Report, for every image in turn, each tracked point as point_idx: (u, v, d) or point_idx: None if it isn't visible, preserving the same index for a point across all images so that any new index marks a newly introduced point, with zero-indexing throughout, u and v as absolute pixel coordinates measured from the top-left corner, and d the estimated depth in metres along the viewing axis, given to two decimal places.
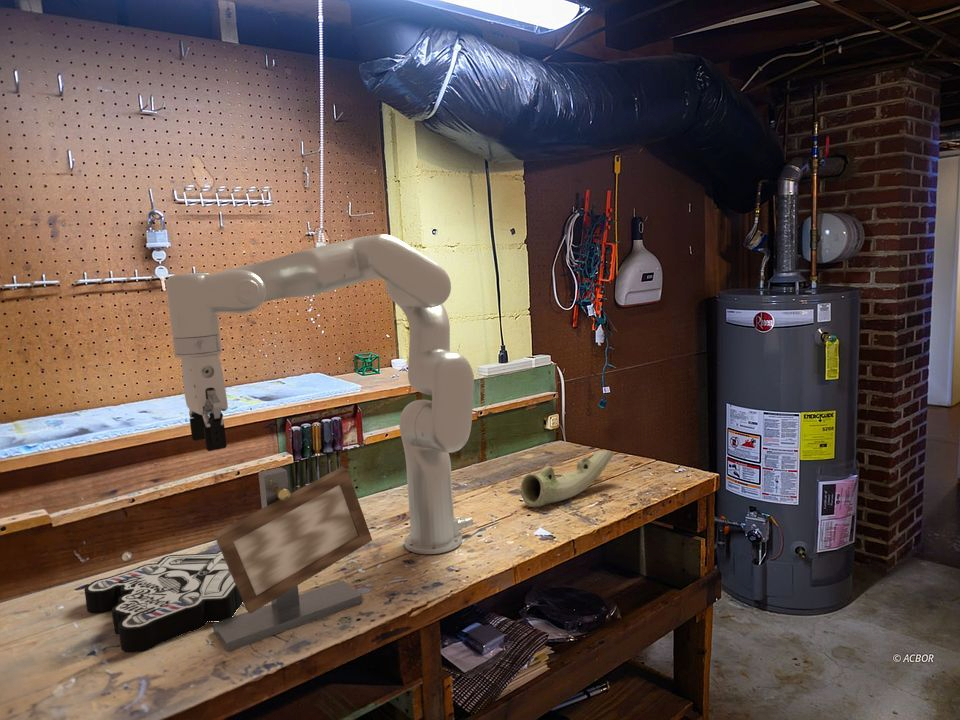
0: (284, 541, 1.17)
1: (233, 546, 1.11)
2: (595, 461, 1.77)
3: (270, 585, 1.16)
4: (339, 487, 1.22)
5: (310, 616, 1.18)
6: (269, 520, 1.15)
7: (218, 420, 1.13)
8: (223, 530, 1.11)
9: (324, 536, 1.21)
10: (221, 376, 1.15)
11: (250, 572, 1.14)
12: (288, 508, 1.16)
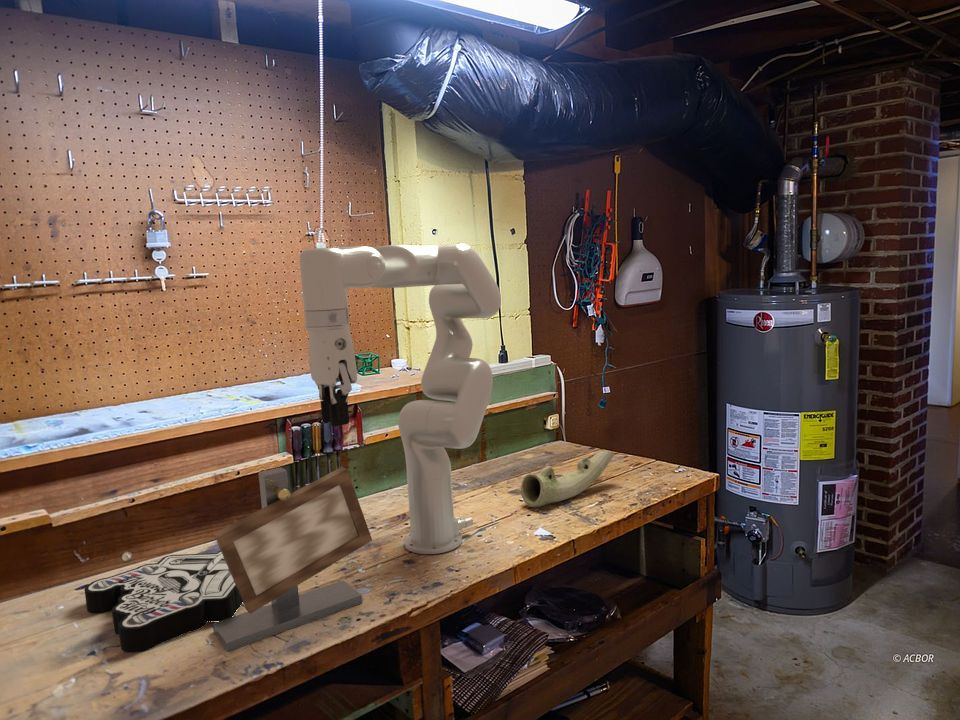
0: (284, 541, 1.17)
1: (233, 546, 1.11)
2: (596, 461, 1.76)
3: (270, 585, 1.16)
4: (339, 487, 1.22)
5: (310, 616, 1.18)
6: (269, 520, 1.15)
7: (344, 397, 1.18)
8: (223, 530, 1.11)
9: (324, 536, 1.21)
10: (352, 349, 1.17)
11: (250, 572, 1.14)
12: (288, 508, 1.16)
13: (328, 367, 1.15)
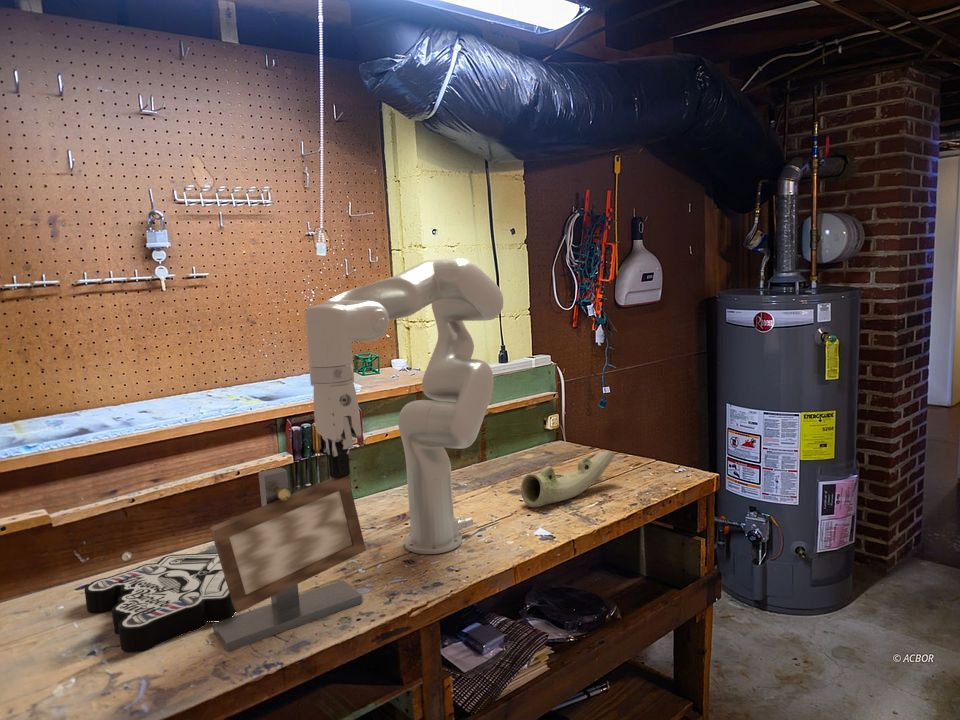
0: (279, 542, 1.17)
1: (228, 541, 1.11)
2: (596, 461, 1.76)
3: (260, 586, 1.15)
4: (338, 493, 1.22)
5: (310, 616, 1.18)
6: (266, 519, 1.14)
7: (345, 450, 1.20)
8: (220, 524, 1.11)
9: (318, 541, 1.21)
10: (357, 404, 1.18)
11: (242, 570, 1.13)
12: (286, 509, 1.16)
13: (333, 423, 1.17)
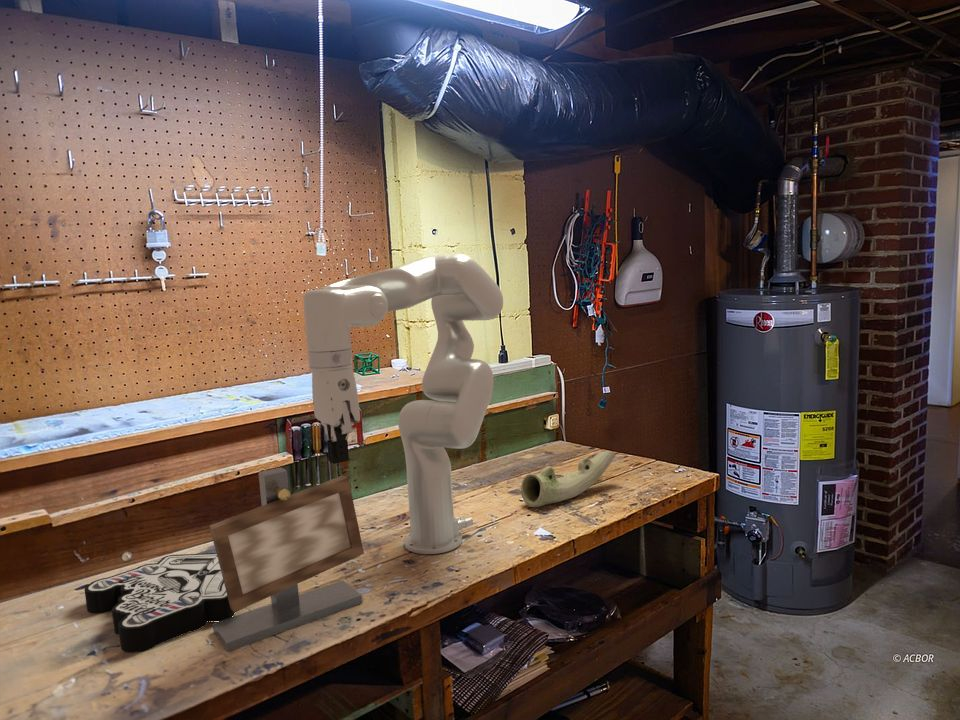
0: (277, 542, 1.16)
1: (227, 540, 1.11)
2: (597, 462, 1.76)
3: (258, 586, 1.15)
4: (338, 495, 1.22)
5: (310, 616, 1.18)
6: (266, 519, 1.14)
7: (344, 435, 1.20)
8: (219, 523, 1.11)
9: (317, 543, 1.21)
10: (355, 389, 1.18)
11: (240, 569, 1.13)
12: (286, 509, 1.16)
13: (331, 408, 1.16)
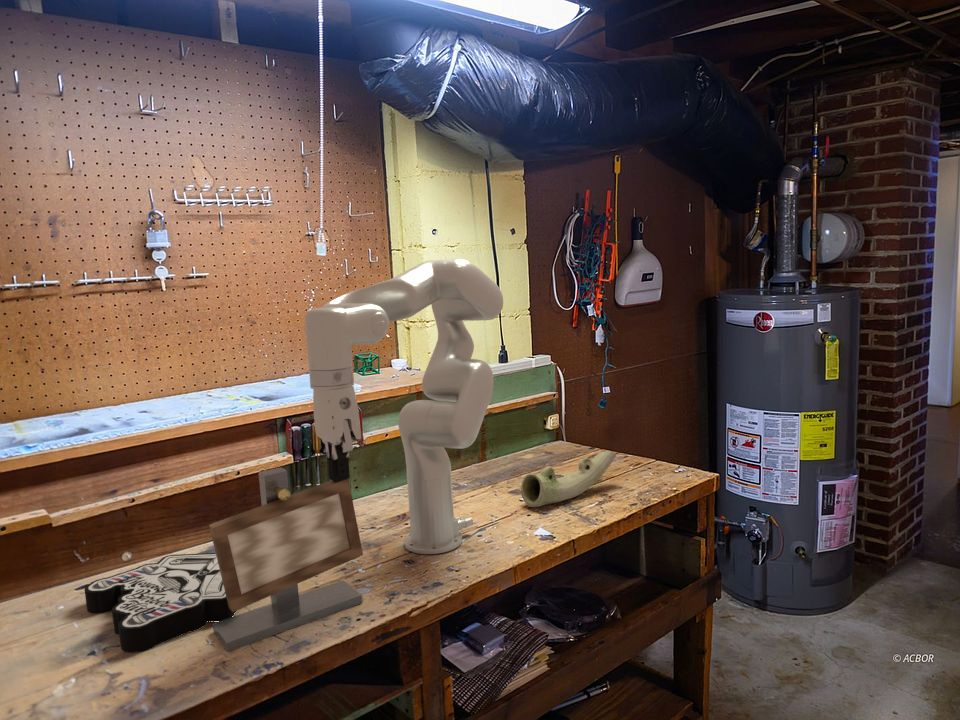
0: (277, 542, 1.16)
1: (226, 539, 1.11)
2: (597, 462, 1.76)
3: (256, 586, 1.15)
4: (338, 496, 1.22)
5: (310, 616, 1.18)
6: (265, 518, 1.14)
7: (345, 453, 1.20)
8: (219, 522, 1.11)
9: (316, 543, 1.21)
10: (356, 407, 1.18)
11: (239, 569, 1.13)
12: (286, 509, 1.16)
13: (333, 426, 1.17)
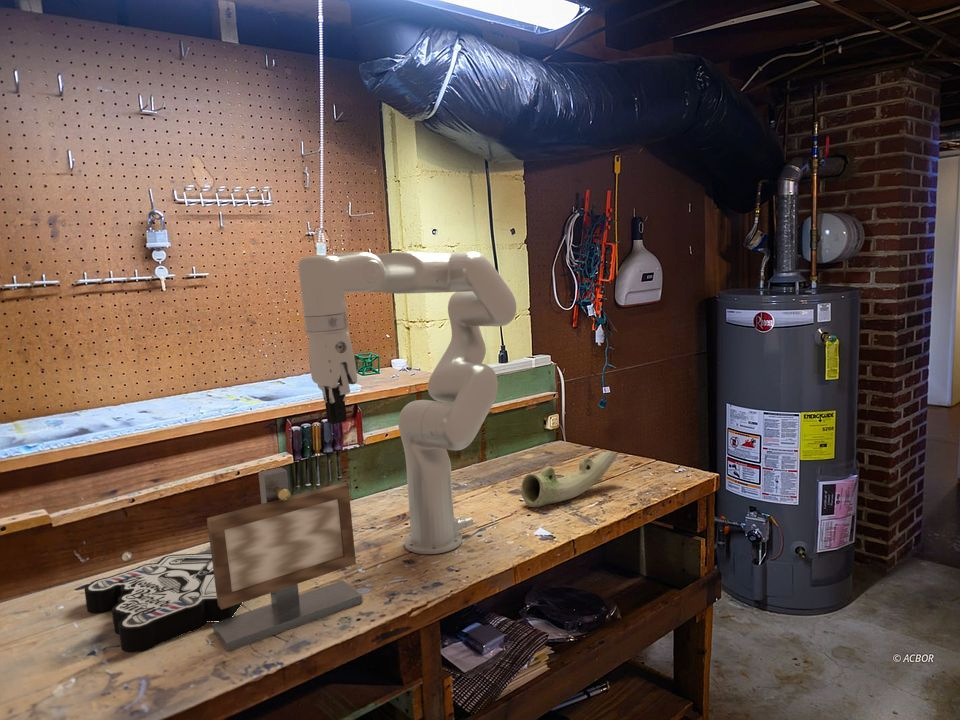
0: (272, 543, 1.16)
1: (223, 534, 1.10)
2: (598, 462, 1.76)
3: (247, 585, 1.14)
4: (336, 502, 1.22)
5: (310, 616, 1.18)
6: (263, 517, 1.14)
7: (342, 396, 1.25)
8: (217, 516, 1.11)
9: (310, 548, 1.20)
10: (352, 351, 1.23)
11: (232, 566, 1.12)
12: (284, 510, 1.16)
13: (330, 369, 1.21)
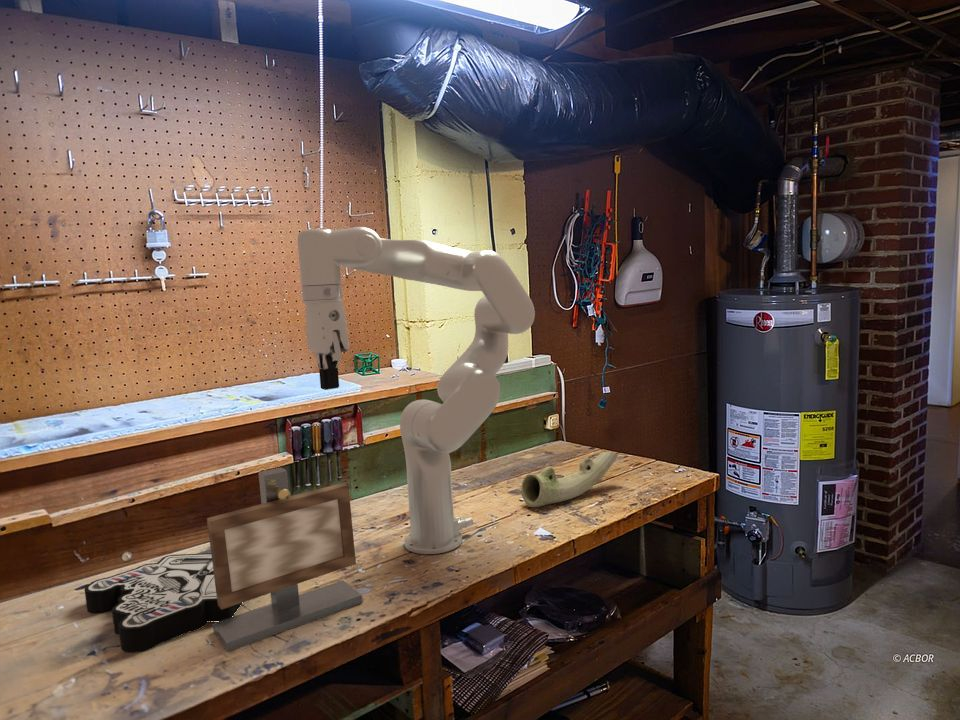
0: (272, 543, 1.16)
1: (223, 534, 1.10)
2: (598, 462, 1.76)
3: (247, 585, 1.14)
4: (336, 502, 1.22)
5: (310, 616, 1.18)
6: (263, 517, 1.14)
7: (334, 363, 1.31)
8: (217, 516, 1.11)
9: (310, 548, 1.20)
10: (345, 320, 1.30)
11: (232, 566, 1.12)
12: (284, 510, 1.16)
13: (323, 336, 1.28)
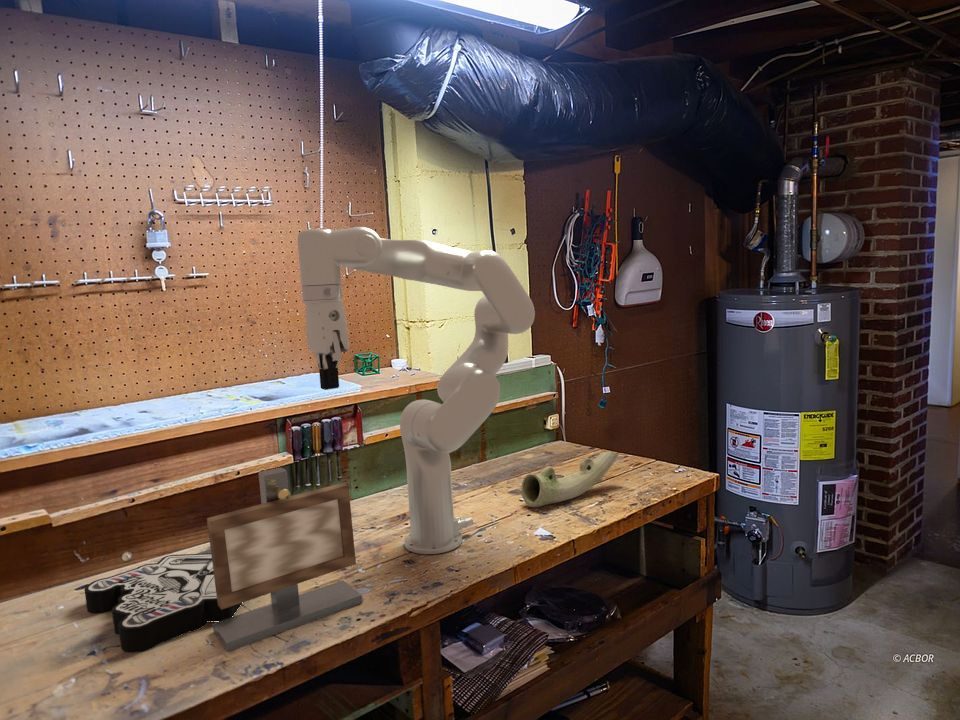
0: (272, 543, 1.16)
1: (223, 534, 1.10)
2: (598, 462, 1.75)
3: (247, 585, 1.14)
4: (336, 502, 1.22)
5: (310, 616, 1.18)
6: (263, 517, 1.14)
7: (334, 363, 1.31)
8: (217, 516, 1.11)
9: (310, 548, 1.20)
10: (345, 320, 1.30)
11: (232, 566, 1.12)
12: (284, 510, 1.16)
13: (323, 336, 1.28)
